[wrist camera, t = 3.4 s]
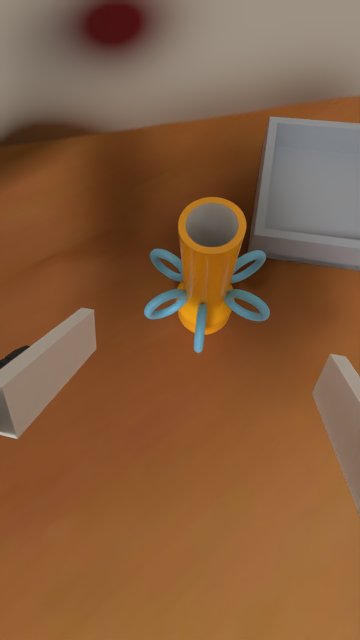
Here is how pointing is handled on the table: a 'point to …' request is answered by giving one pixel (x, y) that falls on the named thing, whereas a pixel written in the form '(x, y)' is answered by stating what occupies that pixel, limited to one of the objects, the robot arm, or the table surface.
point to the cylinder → (208, 269)
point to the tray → (309, 193)
